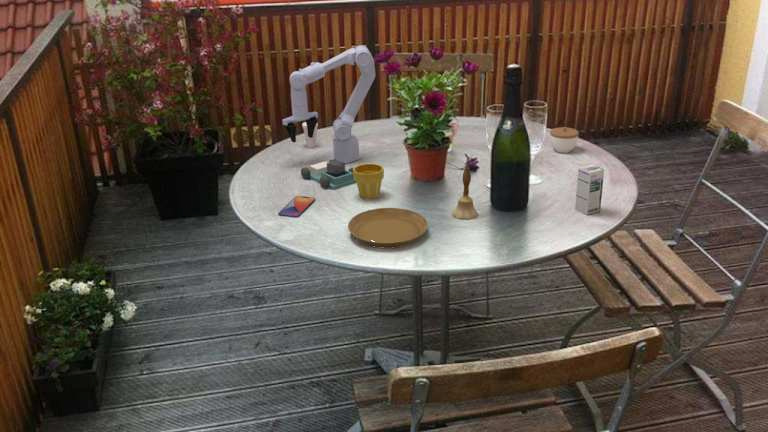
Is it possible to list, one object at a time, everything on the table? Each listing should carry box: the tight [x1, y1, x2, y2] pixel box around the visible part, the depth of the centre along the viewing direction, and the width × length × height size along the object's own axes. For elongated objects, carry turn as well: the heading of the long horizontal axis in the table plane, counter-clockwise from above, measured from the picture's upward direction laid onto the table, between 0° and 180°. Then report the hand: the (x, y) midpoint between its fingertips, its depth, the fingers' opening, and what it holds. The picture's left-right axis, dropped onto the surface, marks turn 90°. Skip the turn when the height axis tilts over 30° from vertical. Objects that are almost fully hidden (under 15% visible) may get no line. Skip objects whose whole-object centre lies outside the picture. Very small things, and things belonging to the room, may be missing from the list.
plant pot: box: [353, 163, 385, 200], centre depth 245 cm, size 10×10×10 cm
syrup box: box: [574, 163, 605, 216], centre depth 228 cm, size 6×6×14 cm
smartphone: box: [277, 195, 316, 218], centre depth 239 cm, size 7×15×1 cm, turn 162°
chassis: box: [300, 159, 357, 191], centre depth 261 cm, size 14×20×4 cm
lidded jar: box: [549, 126, 580, 154], centre depth 281 cm, size 11×11×9 cm
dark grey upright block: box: [327, 160, 346, 178], centre depth 257 cm, size 4×5×6 cm
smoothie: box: [301, 121, 319, 149], centre depth 292 cm, size 6×6×14 cm
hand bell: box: [451, 166, 479, 221], centre depth 227 cm, size 8×8×16 cm
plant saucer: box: [347, 207, 429, 249], centre depth 219 cm, size 24×24×3 cm
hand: (302, 139), depth 273 cm, fingers open, 7 cm apart
